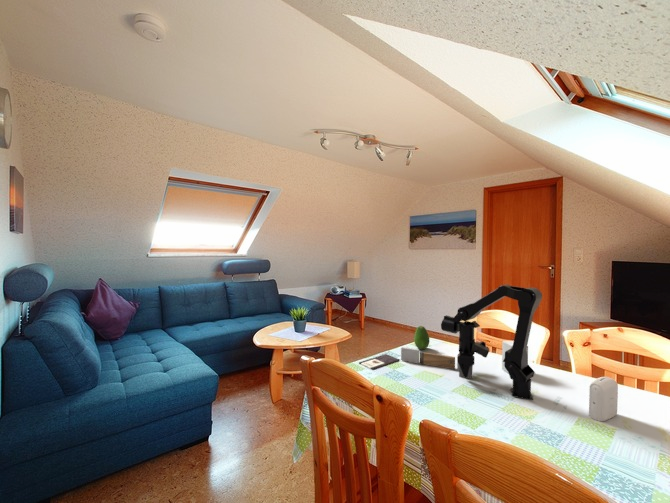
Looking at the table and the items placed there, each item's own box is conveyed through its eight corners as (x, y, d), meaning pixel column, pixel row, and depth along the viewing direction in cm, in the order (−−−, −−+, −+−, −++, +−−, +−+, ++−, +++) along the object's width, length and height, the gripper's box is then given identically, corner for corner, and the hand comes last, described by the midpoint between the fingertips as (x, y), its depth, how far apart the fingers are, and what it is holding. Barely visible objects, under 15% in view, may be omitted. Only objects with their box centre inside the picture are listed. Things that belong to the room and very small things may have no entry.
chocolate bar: (399, 359, 145) (372, 368, 134) (399, 361, 145) (372, 370, 134) (385, 354, 152) (358, 362, 141) (385, 356, 152) (358, 364, 141)
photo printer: (602, 423, 95) (603, 383, 94) (586, 416, 98) (587, 378, 98) (619, 415, 99) (620, 377, 99) (603, 409, 103) (604, 372, 103)
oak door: (454, 369, 134) (454, 358, 134) (419, 364, 141) (419, 352, 141) (455, 367, 137) (455, 356, 137) (419, 362, 143) (420, 351, 143)
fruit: (411, 347, 164) (411, 324, 164) (423, 345, 166) (424, 323, 166) (419, 352, 156) (419, 328, 156) (432, 350, 159) (432, 327, 158)
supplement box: (528, 376, 129) (529, 346, 128) (510, 375, 129) (511, 345, 129) (518, 368, 136) (518, 340, 136) (501, 368, 136) (501, 340, 136)
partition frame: (461, 370, 134) (461, 356, 134) (401, 360, 145) (401, 347, 145) (461, 368, 136) (461, 354, 136) (402, 358, 147) (402, 346, 147)
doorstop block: (472, 378, 126) (472, 364, 125) (459, 376, 128) (459, 362, 128) (472, 375, 129) (472, 361, 129) (459, 373, 131) (459, 359, 131)
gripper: (489, 345, 116) (488, 386, 117) (487, 332, 133) (486, 368, 134) (457, 341, 121) (456, 380, 121) (459, 329, 138) (459, 363, 138)
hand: (465, 373), depth 128 cm, fingers open, 9 cm apart
